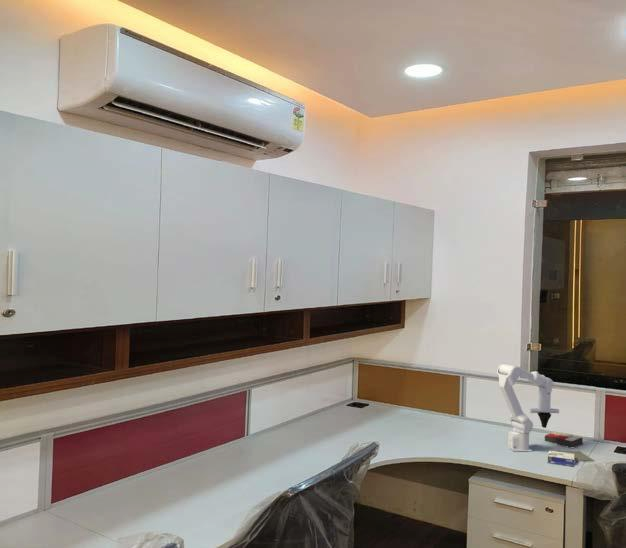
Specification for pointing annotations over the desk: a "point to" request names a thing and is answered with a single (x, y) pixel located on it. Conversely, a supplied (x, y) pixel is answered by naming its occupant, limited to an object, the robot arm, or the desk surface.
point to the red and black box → (564, 439)
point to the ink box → (561, 458)
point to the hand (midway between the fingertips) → (544, 427)
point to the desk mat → (579, 455)
